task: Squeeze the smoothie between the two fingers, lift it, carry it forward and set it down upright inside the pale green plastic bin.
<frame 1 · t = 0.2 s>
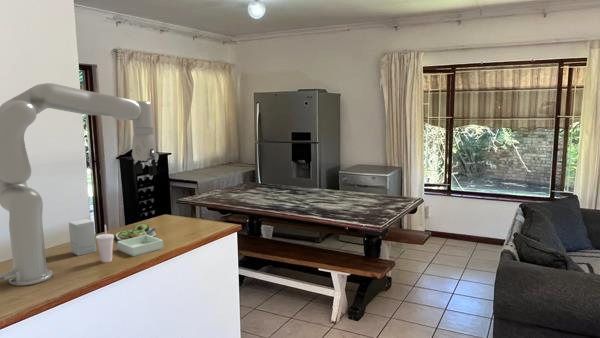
hand: (146, 174, 179), 31 cm above the worktop, tool pointing down, fingers open, 9 cm apart
avocado toast plate: (136, 237, 200), on the worktop
supplement box: (83, 252, 179), on the worktop
bin: (140, 249, 181), on the worktop
smoothie: (106, 261, 167), on the worktop
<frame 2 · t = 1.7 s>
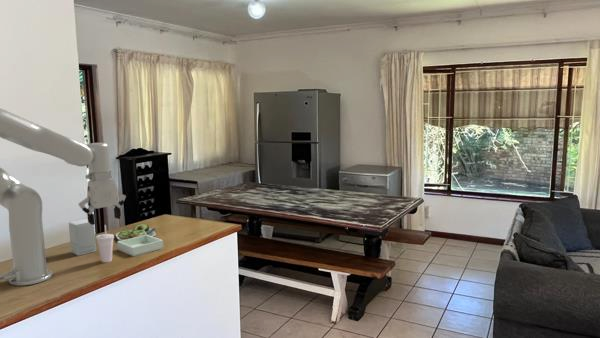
hand: (105, 221, 166), 15 cm above the worktop, tool pointing down, fingers open, 9 cm apart
nothing on the worktop moved.
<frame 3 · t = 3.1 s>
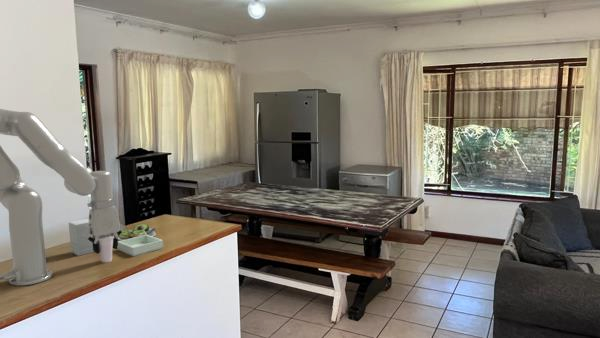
hand: (105, 250, 167), 4 cm above the worktop, tool pointing down, fingers closed on smoothie, 6 cm apart
smoothie: (106, 261, 167), on the worktop, touching gripper
everything else where it was.
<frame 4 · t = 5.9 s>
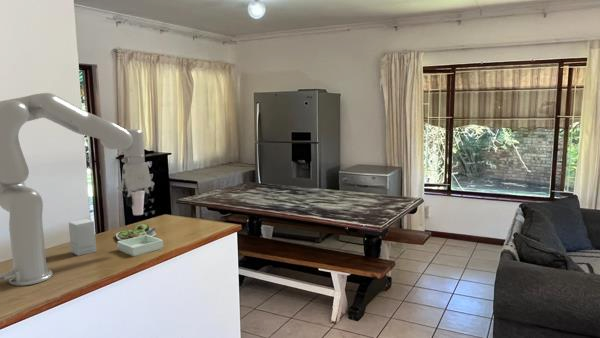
hand: (137, 204, 178), 19 cm above the worktop, tool pointing down, fingers closed on smoothie, 6 cm apart
smoothie: (138, 214, 179), point 15 cm above the worktop, touching gripper
everything else where it was.
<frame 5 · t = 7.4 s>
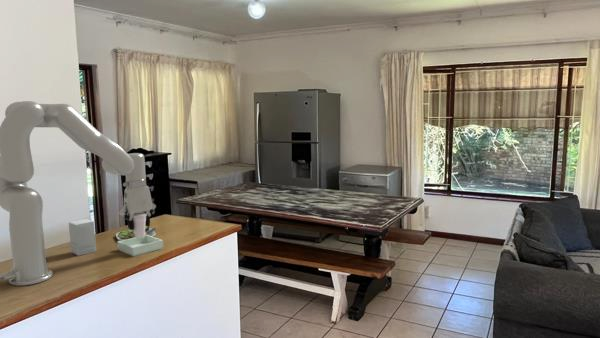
hand: (139, 227, 180), 9 cm above the worktop, tool pointing down, fingers closed on smoothie, 6 cm apart
smoothie: (140, 237, 180), point 5 cm above the worktop, touching gripper
everything else where it was.
when the fingers open (6 cm above the worktop, at t = 8.5 s): smoothie drops 2 cm, resting on bin.
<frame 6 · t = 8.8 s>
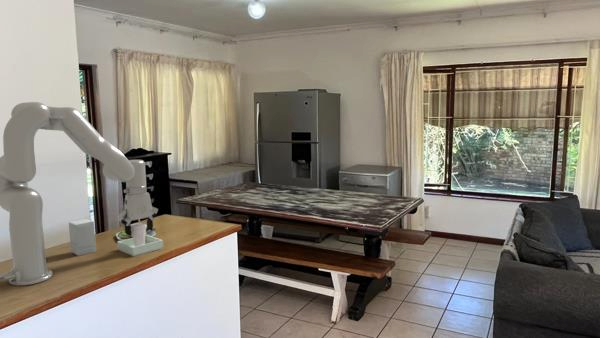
hand: (139, 232, 180), 7 cm above the worktop, tool pointing down, fingers open, 9 cm apart
smoothie: (139, 248, 181), resting on bin
everything else where it was.
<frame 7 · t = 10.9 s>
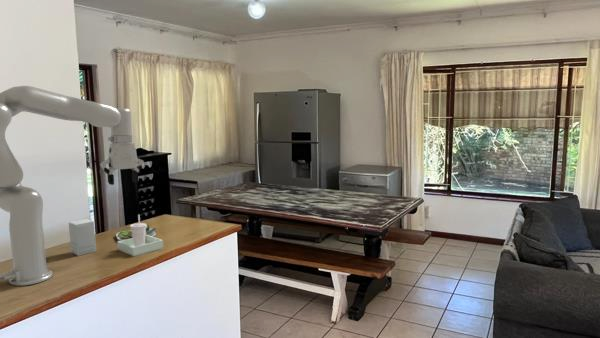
hand: (123, 183, 175), 28 cm above the worktop, tool pointing down, fingers open, 9 cm apart
nothing on the worktop moved.
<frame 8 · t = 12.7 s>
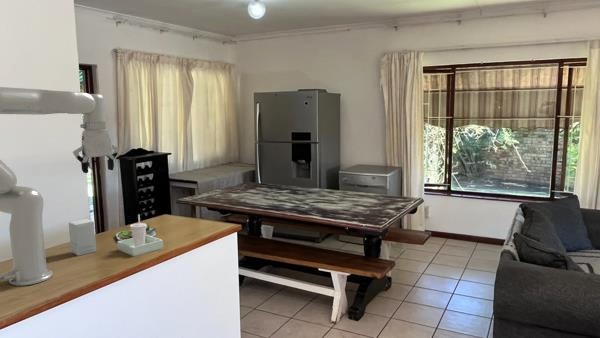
hand: (98, 171, 170), 33 cm above the worktop, tool pointing down, fingers open, 9 cm apart
nothing on the worktop moved.
at the end: smoothie inside the target area on the bin (0.3 cm from its centre), point 0.4 cm above the bin's base; smoothie tilted 0°; the gripper is holding nothing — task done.
